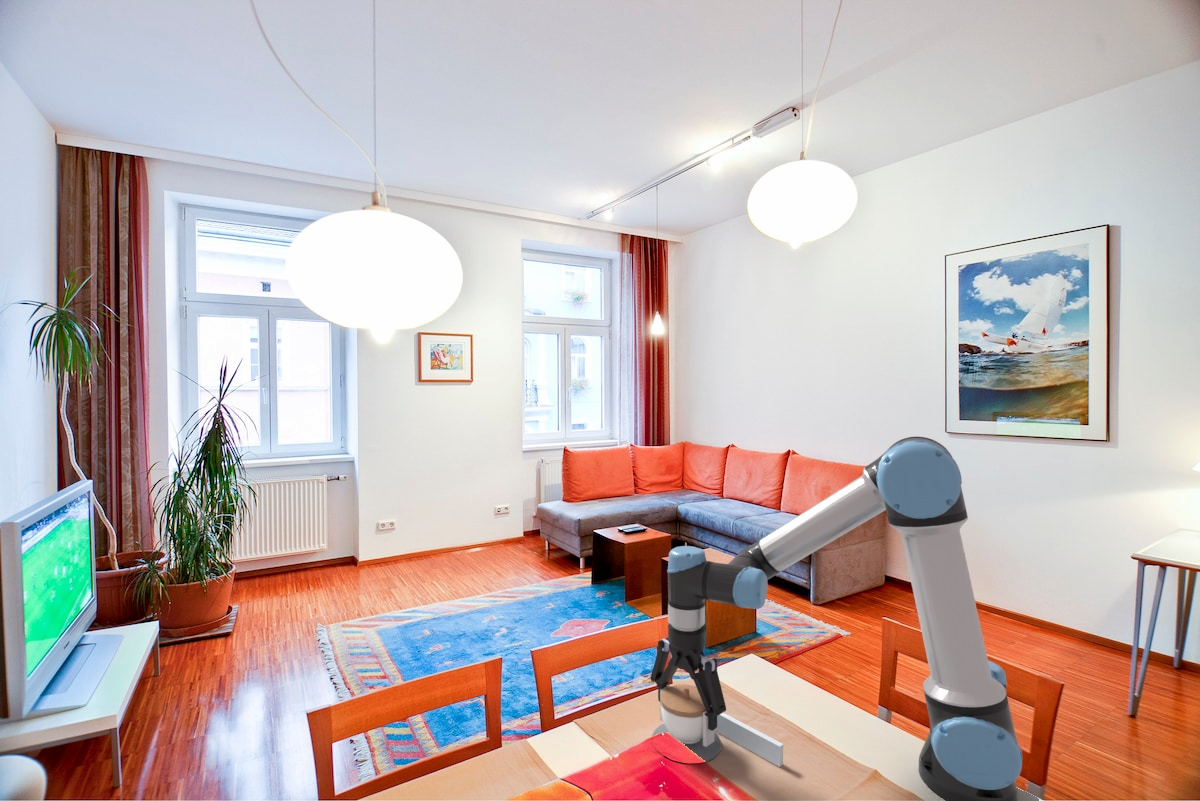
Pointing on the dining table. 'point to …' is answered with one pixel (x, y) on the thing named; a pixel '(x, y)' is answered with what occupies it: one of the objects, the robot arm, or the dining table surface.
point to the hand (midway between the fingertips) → (686, 730)
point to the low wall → (750, 739)
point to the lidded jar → (683, 713)
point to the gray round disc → (699, 745)
